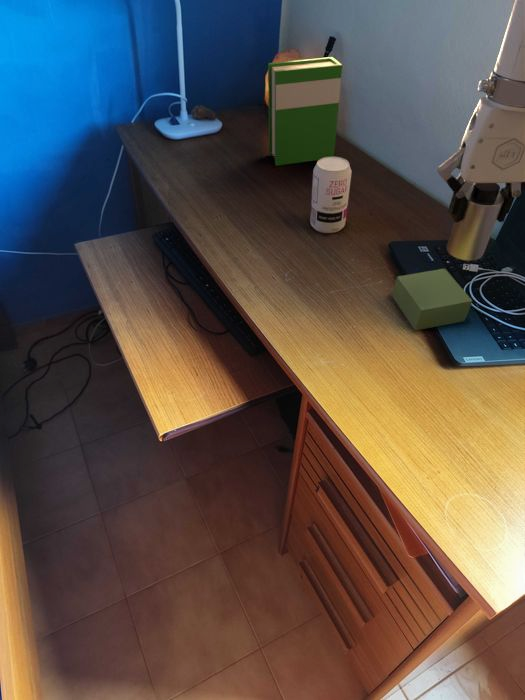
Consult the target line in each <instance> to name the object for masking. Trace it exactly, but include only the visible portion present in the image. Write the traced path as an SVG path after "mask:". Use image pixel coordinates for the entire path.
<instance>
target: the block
mask: <svg viewBox="0 0 525 700" xmlns="http://www.w3.org/2000/svg"><path fill="white" fill-rule="evenodd" d="M392 299H393V300H394V302H395V304H397V306H398V308H399V310H401V312H402V313H403V315H404V317H405V318H406V319H407V321H408V322H409V323H410V325H411V327H412V328H413V330H414V331H421V330H426V329H431V328H436V327H441V326H447V325H451V324H457V323H462V322H465V321H466V318H467V317H468V313H469V311H470V308H471V307H472V304H473V300H472V298H471V297H470V296H469V295H468V294H467V293H466V291H465V290H464V289H463V288H462V287H461V285H460V284H459V283H458V282H457V281H456V280H455V278H454V277H453V276H452V275H451V274H450V272H448V270H447V269H446V268H439V269H434V270H428V271H422V272H416V273H411V274H406V275H399V276H397V277H396V280H395V283H394V288H393V292H392Z"/></svg>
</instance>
